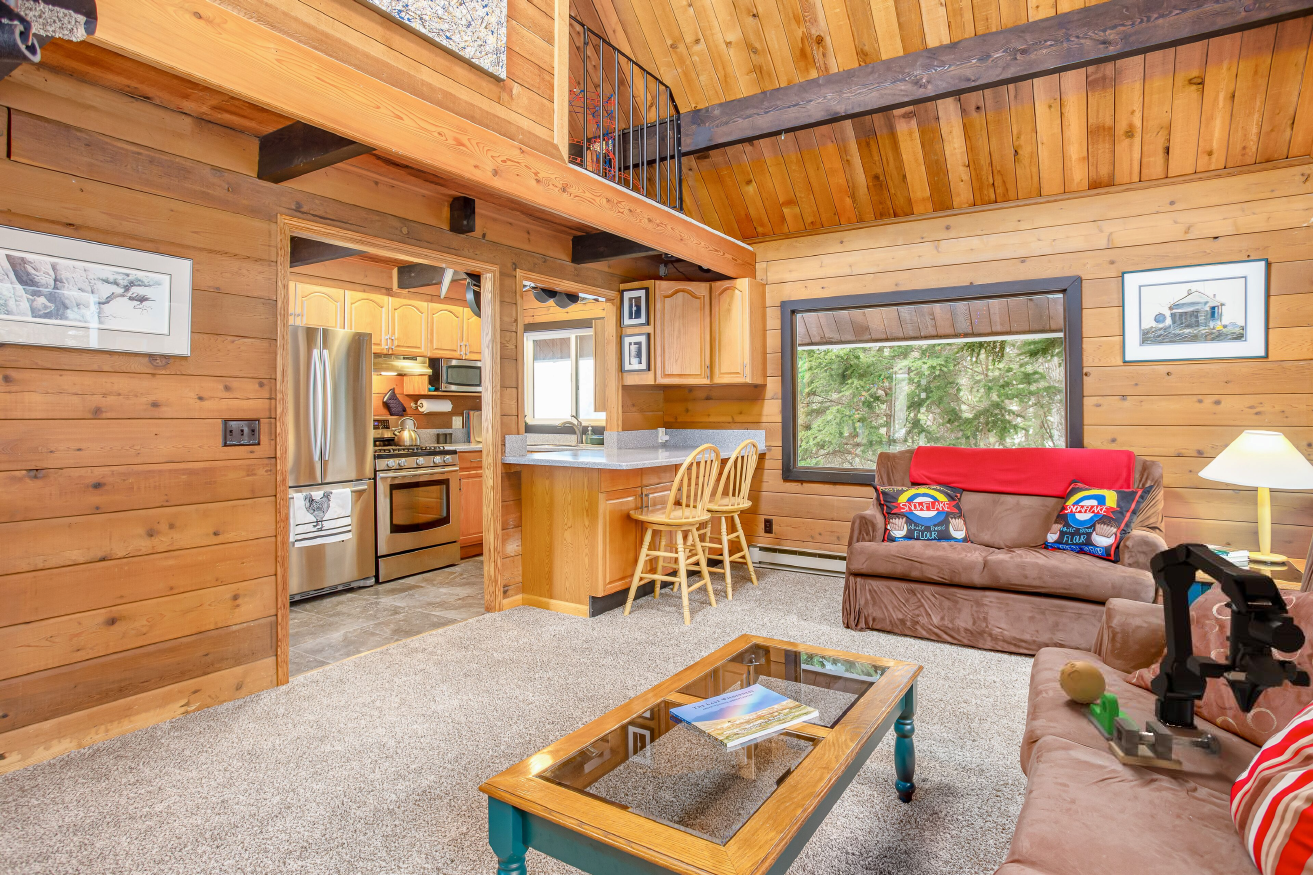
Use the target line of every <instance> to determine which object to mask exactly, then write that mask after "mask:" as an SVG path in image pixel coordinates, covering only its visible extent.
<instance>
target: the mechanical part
mask: <svg viewBox="0 0 1313 875" xmlns="http://www.w3.org/2000/svg"><path fill="white" fill-rule="evenodd" d="M1089 704H1090V705H1089V706H1090V707H1089V710H1090V712H1091V714H1092V715H1093V716H1094V717H1095V719H1096V720H1097V721H1098V722H1099V724H1100V725H1101V726H1102V728H1103V729H1104V730H1105V731H1106V733H1107V734H1110V735H1113V732H1114V717H1119V718H1127V719H1128V720H1129V721H1130V722H1131V723H1132V724H1133V725H1134V726H1135V727H1136V728H1137V729H1138V730H1139V729H1140V728H1139V727H1138V726H1137V725H1136V724H1135V723H1134V722H1133V720H1131V719H1130V717H1129V716H1128V714H1126V713H1125V712H1124V711H1123V710H1121V709H1120V707H1119V702H1118V698H1117V696H1116V695H1115V694H1112V693H1105V692H1104V693H1103V694H1102V695H1101V698H1100V699H1099V704H1094V703H1089Z"/></svg>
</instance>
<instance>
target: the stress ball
mask: <svg viewBox="0 0 1313 875" xmlns="http://www.w3.org/2000/svg"><path fill="white" fill-rule="evenodd" d="M1058 683H1059V685H1060V688H1061V690H1063V692H1064V693H1065V694H1066V696H1068V697H1069V698H1070V699H1072V700H1074V701H1075V702H1076V703H1078V704H1081V703H1083V704H1082V705H1087V704H1086V703H1088V704H1093V703H1094V702H1097V701H1100V698H1101V695H1102V694H1103V693H1105V692H1106V688H1107V684H1106V679H1105V677H1104V675H1103V674H1102V672H1101V671H1100V670H1099V669H1098V668H1097V667H1096V666H1094V665H1093V664H1091V663H1089V662H1085V661H1070V662H1068V663H1066V664H1064V667H1063V668H1062V669H1061V671H1060V674H1059V680H1058Z"/></svg>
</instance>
